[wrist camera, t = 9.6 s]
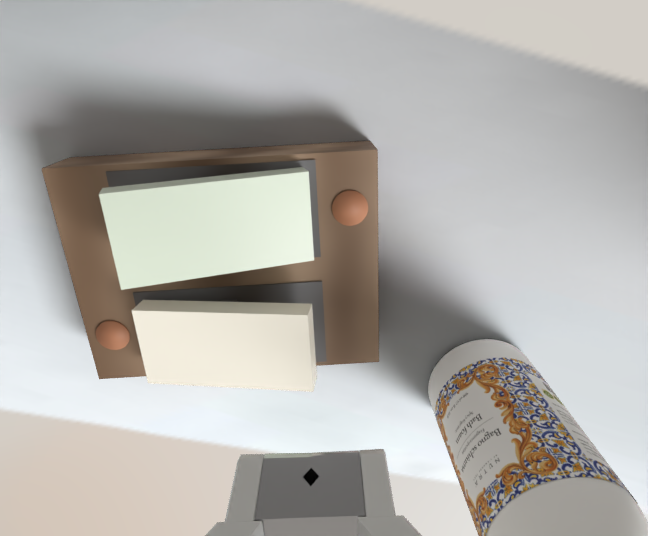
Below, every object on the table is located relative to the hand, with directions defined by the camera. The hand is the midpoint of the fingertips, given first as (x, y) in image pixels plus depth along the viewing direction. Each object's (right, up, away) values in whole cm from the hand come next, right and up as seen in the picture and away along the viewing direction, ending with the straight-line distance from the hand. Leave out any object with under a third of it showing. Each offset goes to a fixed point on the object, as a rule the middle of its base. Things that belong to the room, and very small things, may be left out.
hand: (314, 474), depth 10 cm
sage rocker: (-5, +6, +13) cm, 15 cm away
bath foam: (+10, -3, +22) cm, 25 cm away
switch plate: (-5, +5, +18) cm, 19 cm away
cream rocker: (-5, +1, +15) cm, 16 cm away
